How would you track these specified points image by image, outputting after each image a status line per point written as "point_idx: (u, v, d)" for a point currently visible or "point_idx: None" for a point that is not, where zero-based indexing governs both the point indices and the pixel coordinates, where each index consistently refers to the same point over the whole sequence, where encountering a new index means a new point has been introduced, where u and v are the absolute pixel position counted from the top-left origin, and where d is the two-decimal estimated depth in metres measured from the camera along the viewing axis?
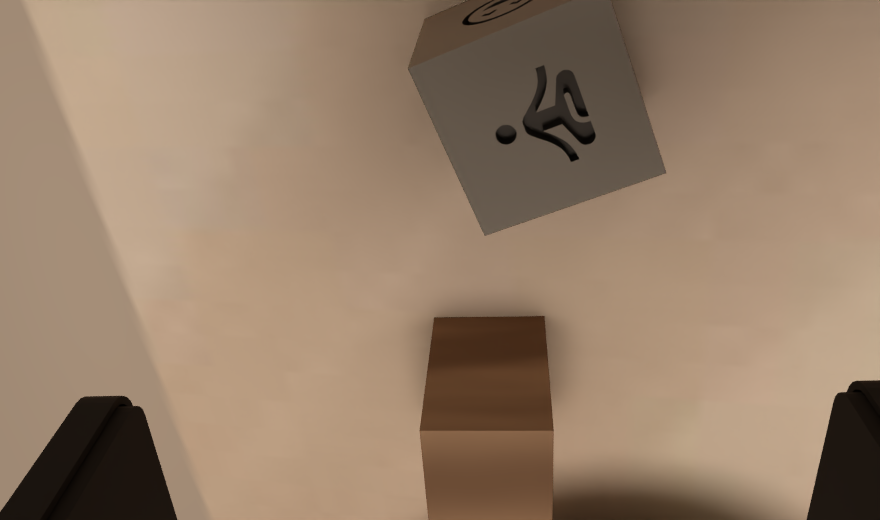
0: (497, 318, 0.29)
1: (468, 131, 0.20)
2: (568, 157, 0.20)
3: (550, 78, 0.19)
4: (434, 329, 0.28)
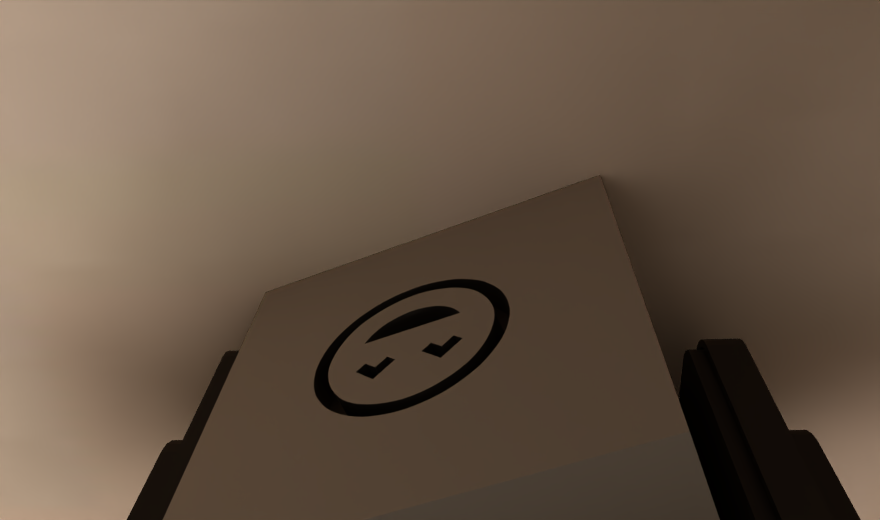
0: None
1: None
2: None
3: None
4: None
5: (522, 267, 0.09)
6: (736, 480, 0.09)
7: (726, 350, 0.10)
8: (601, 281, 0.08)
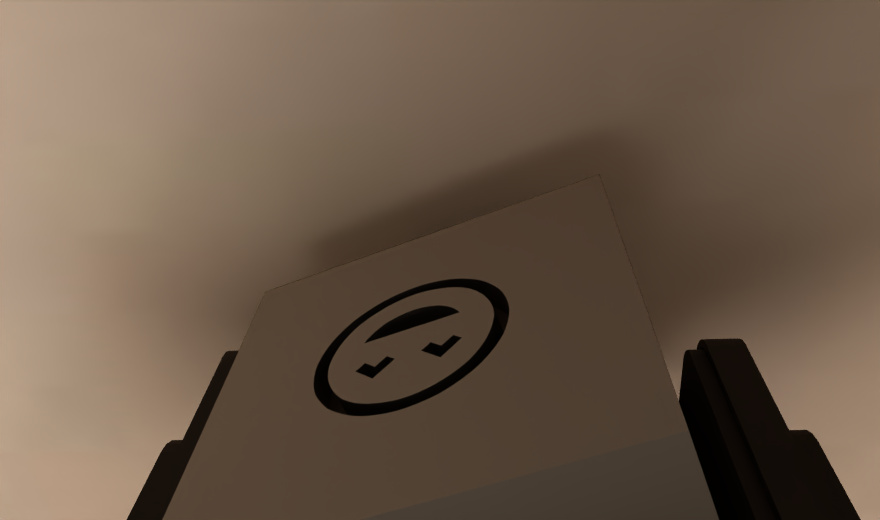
0: None
1: None
2: None
3: None
4: None
5: (522, 267, 0.09)
6: (736, 480, 0.09)
7: (726, 350, 0.10)
8: (601, 282, 0.08)
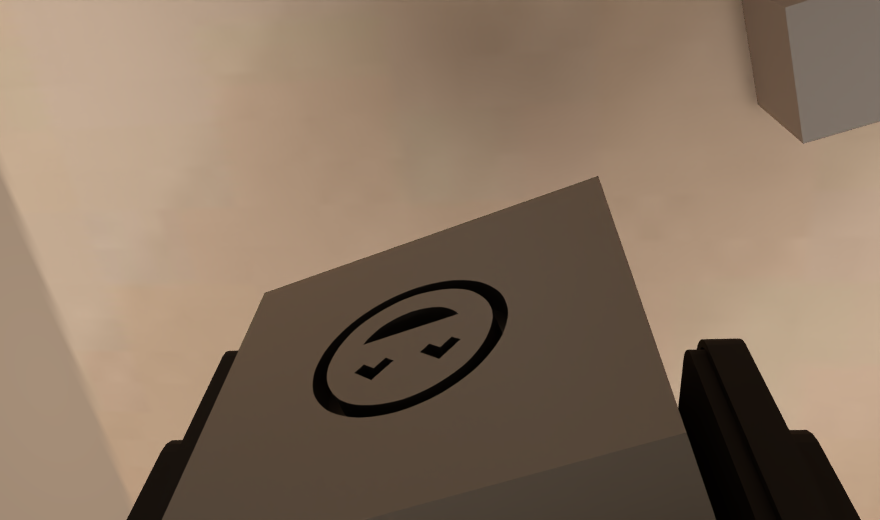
0: None
1: None
2: None
3: None
4: None
5: (520, 268, 0.09)
6: (736, 480, 0.09)
7: (726, 350, 0.10)
8: (599, 283, 0.08)
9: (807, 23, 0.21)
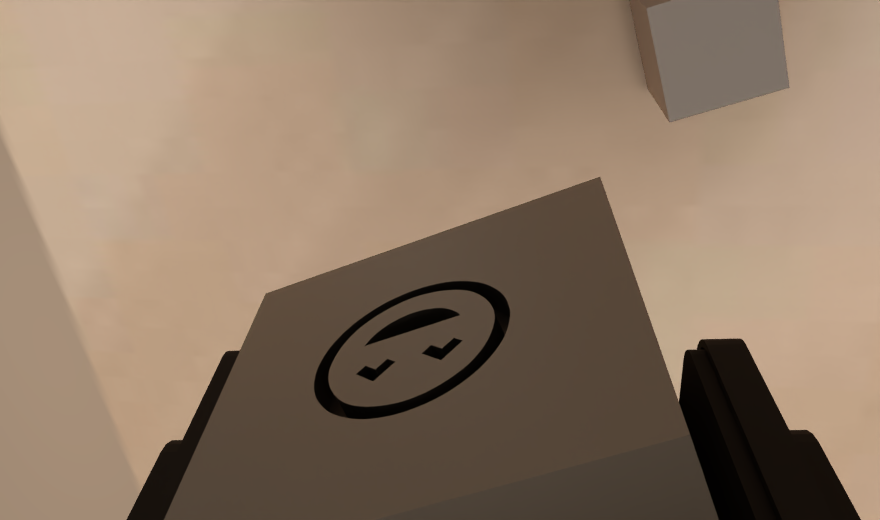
0: None
1: None
2: None
3: None
4: None
5: (522, 269, 0.09)
6: (736, 480, 0.09)
7: (726, 350, 0.10)
8: (601, 284, 0.08)
9: (666, 21, 0.26)
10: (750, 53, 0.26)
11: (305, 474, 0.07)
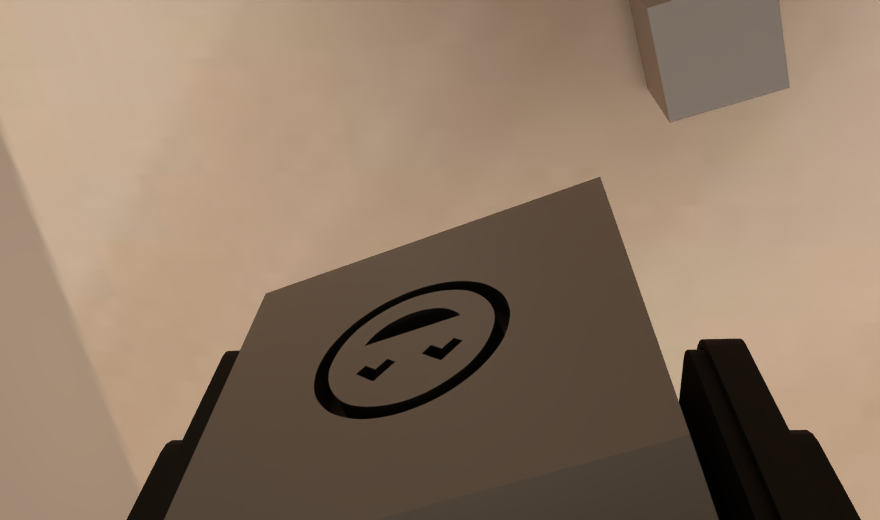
0: None
1: None
2: None
3: None
4: None
5: (522, 269, 0.09)
6: (736, 480, 0.09)
7: (726, 350, 0.10)
8: (601, 284, 0.08)
9: (666, 22, 0.26)
10: (750, 53, 0.26)
11: (305, 474, 0.07)
